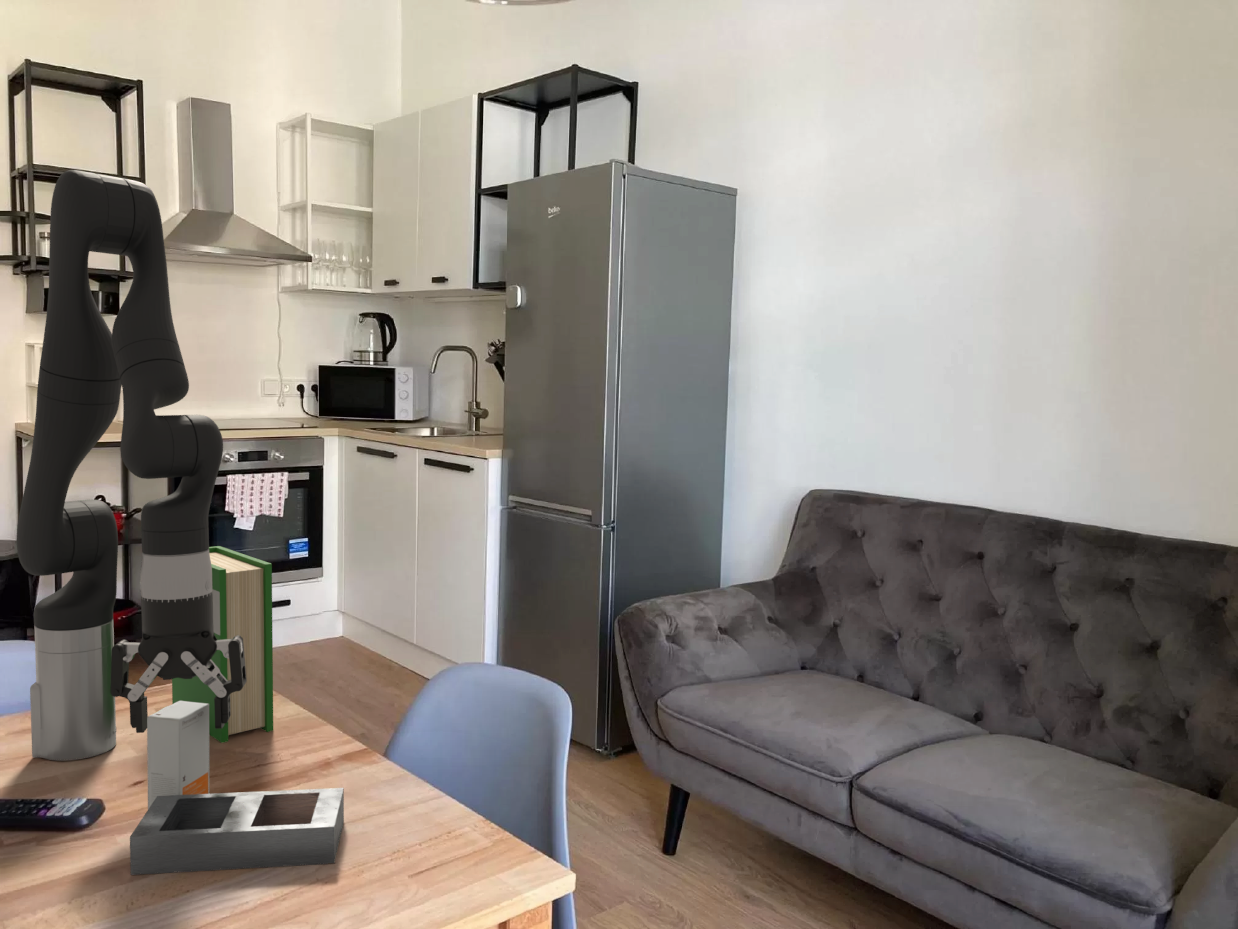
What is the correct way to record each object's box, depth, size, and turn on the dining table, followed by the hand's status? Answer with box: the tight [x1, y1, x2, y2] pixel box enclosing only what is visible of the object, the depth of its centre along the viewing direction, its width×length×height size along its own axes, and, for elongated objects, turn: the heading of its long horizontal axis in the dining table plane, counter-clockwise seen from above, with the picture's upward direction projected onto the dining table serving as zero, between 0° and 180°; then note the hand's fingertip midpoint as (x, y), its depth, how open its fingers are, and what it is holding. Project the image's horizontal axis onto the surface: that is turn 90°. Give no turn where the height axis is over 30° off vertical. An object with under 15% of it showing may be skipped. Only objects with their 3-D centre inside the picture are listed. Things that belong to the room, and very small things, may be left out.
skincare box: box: [146, 701, 210, 810], centre depth 119 cm, size 6×4×12 cm
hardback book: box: [171, 545, 274, 744], centre depth 148 cm, size 18×7×24 cm, turn 44°
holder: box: [129, 787, 345, 876], centre depth 111 cm, size 20×10×4 cm, turn 99°
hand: (181, 728), depth 119 cm, fingers open, 8 cm apart
